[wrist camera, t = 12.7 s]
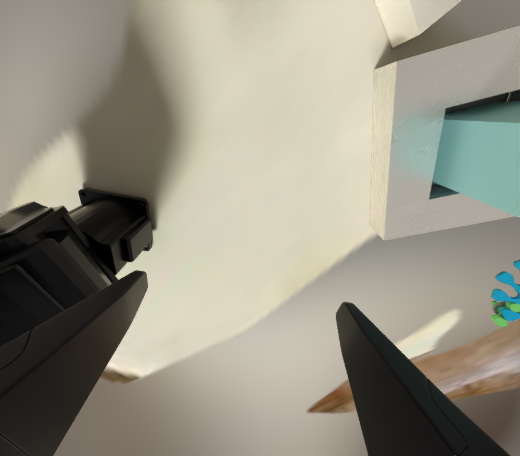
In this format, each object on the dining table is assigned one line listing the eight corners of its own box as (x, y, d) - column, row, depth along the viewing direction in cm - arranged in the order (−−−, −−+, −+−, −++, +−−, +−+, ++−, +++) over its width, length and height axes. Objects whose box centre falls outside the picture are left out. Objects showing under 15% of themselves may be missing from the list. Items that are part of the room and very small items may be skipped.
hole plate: (369, 225, 22) (384, 241, 19) (374, 69, 15) (398, 60, 13) (513, 197, 20) (553, 210, 18) (591, 6, 14) (675, -20, 11)
